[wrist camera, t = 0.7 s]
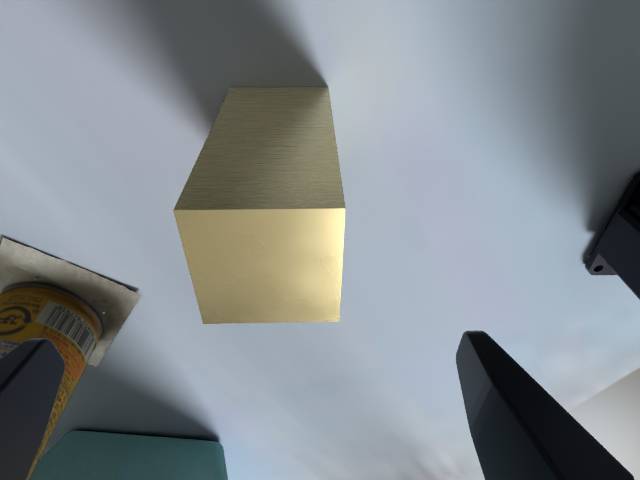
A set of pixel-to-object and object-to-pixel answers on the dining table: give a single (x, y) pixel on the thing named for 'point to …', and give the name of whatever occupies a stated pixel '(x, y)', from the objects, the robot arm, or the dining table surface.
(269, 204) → the brass peg
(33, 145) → the dining table surface
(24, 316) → the condiment
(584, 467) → the robot arm
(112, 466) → the flower pot
